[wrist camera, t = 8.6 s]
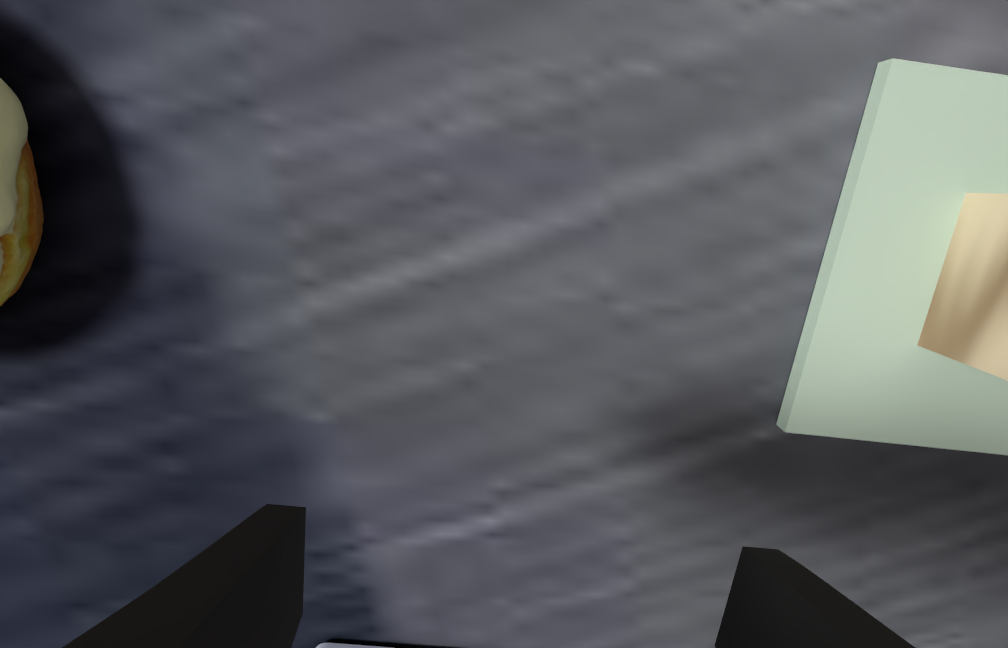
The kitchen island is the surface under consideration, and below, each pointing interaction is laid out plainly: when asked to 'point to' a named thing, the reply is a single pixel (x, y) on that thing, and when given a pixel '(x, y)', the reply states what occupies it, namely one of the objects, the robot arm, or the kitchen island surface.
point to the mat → (902, 269)
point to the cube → (973, 289)
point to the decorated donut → (16, 196)
